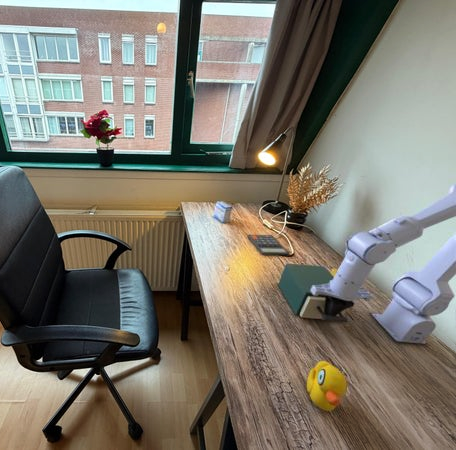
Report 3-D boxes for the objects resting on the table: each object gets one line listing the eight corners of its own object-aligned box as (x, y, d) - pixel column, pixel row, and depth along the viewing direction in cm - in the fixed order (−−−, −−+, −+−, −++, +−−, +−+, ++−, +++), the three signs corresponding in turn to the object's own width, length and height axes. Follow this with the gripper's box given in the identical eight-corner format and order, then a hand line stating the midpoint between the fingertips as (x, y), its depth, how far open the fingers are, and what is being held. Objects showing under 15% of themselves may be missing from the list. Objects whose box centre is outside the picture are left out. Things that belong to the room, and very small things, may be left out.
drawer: (350, 333, 67) (362, 315, 64) (308, 330, 68) (318, 311, 64) (317, 290, 82) (326, 273, 79) (283, 287, 83) (290, 270, 79)
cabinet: (338, 318, 73) (351, 296, 69) (295, 315, 73) (306, 292, 69) (314, 287, 85) (324, 266, 81) (278, 284, 85) (286, 263, 81)
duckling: (335, 434, 47) (358, 406, 43) (304, 418, 49) (322, 390, 45) (330, 382, 56) (349, 354, 52) (304, 370, 58) (319, 342, 54)
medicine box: (213, 216, 131) (216, 201, 127) (219, 215, 133) (222, 200, 129) (222, 223, 125) (225, 207, 121) (229, 221, 127) (233, 206, 123)
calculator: (272, 234, 115) (289, 253, 102) (271, 236, 115) (288, 254, 102) (248, 234, 114) (262, 252, 101) (247, 235, 114) (261, 254, 101)
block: (348, 286, 86) (352, 278, 85) (336, 286, 87) (341, 277, 85) (339, 277, 91) (343, 269, 89) (328, 276, 91) (332, 268, 89)
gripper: (367, 270, 65) (345, 306, 72) (313, 264, 65) (295, 301, 72) (388, 288, 59) (361, 326, 65) (328, 282, 59) (307, 321, 65)
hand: (328, 315), depth 68 cm, fingers closed, pressing on drawer
